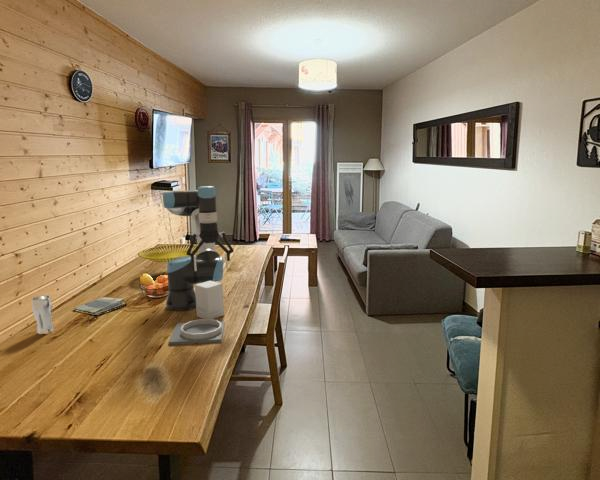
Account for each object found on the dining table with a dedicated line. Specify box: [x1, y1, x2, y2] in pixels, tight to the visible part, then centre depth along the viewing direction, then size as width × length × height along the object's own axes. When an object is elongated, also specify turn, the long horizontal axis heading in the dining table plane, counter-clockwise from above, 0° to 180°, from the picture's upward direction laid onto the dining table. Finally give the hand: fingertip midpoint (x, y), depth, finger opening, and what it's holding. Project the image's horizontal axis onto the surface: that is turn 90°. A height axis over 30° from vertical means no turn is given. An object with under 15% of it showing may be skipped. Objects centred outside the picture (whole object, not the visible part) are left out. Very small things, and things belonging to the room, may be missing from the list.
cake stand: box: [137, 243, 198, 276], centre depth 267 cm, size 40×40×15 cm
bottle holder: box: [168, 318, 226, 346], centre depth 179 cm, size 20×19×3 cm
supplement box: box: [194, 281, 225, 320], centre depth 197 cm, size 9×9×15 cm
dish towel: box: [73, 296, 128, 316], centre depth 212 cm, size 19×18×3 cm
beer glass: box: [31, 294, 55, 334], centre depth 182 cm, size 7×7×15 cm
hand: (211, 269), depth 196 cm, fingers open, 13 cm apart
